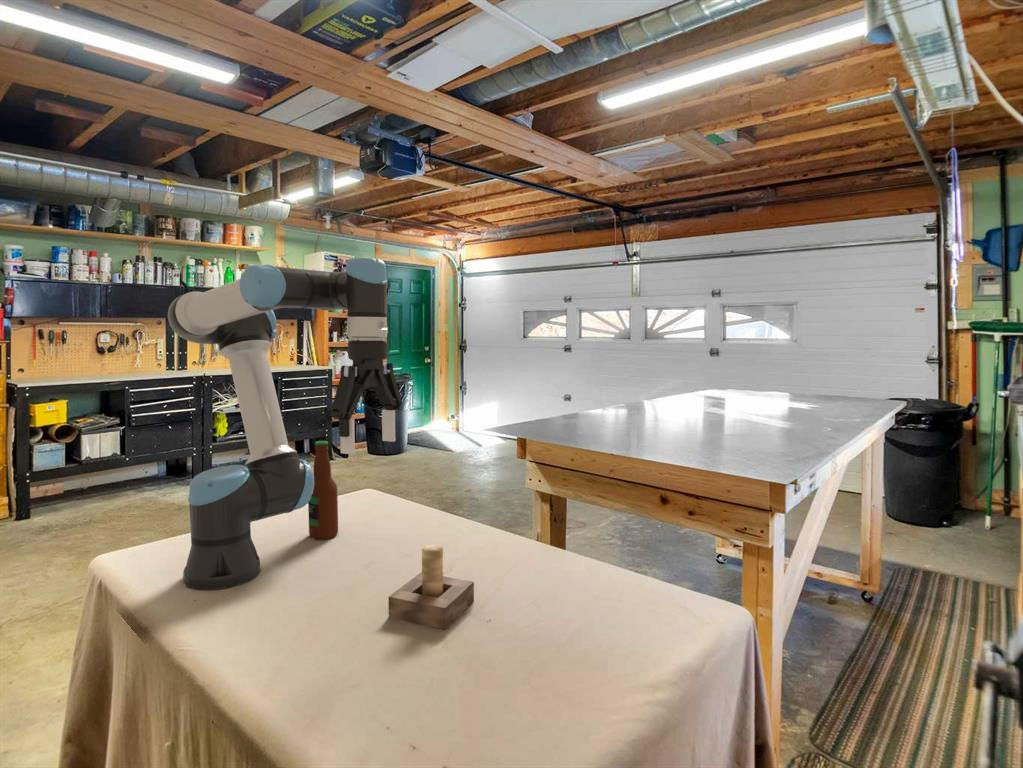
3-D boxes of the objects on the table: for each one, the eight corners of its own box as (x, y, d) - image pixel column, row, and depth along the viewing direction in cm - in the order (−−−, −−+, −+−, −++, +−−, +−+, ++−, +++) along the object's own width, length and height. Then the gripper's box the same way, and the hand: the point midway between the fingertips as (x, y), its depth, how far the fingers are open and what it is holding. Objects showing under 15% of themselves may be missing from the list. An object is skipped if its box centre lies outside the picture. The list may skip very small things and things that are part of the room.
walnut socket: (388, 617, 109) (388, 596, 109) (421, 590, 120) (421, 572, 120) (445, 629, 105) (445, 608, 104) (473, 601, 116) (473, 581, 116)
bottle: (317, 530, 157) (314, 438, 154) (342, 531, 156) (341, 439, 153) (303, 539, 149) (301, 443, 147) (330, 541, 148) (328, 444, 146)
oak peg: (418, 611, 111) (417, 550, 110) (428, 602, 115) (428, 543, 114) (436, 615, 110) (436, 554, 109) (446, 606, 114) (446, 546, 113)
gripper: (342, 340, 100) (345, 461, 102) (417, 339, 123) (418, 437, 125) (307, 339, 103) (310, 457, 105) (387, 338, 126) (388, 435, 128)
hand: (369, 447), depth 115 cm, fingers open, 13 cm apart
